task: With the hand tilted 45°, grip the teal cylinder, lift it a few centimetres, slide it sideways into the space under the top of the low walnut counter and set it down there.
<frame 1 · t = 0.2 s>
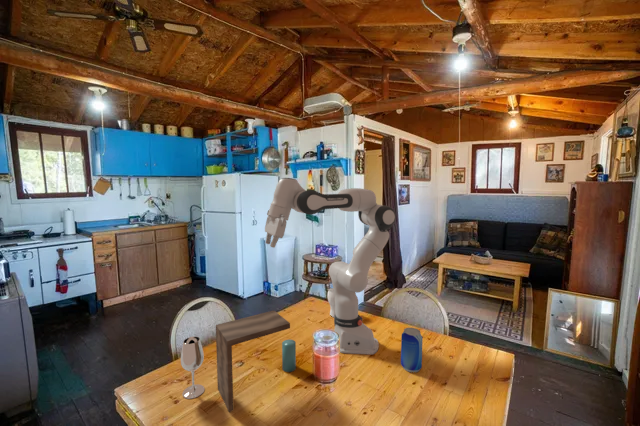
hand: (269, 245, 125), 51 cm above the table, tool tilted 20°, fingers open, 8 cm apart
cup: (336, 315, 177), on the table
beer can: (411, 368, 125), on the table
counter: (258, 385, 113), on the table
wineglass: (193, 392, 110), on the table
teal cylinder: (289, 368, 125), on the table
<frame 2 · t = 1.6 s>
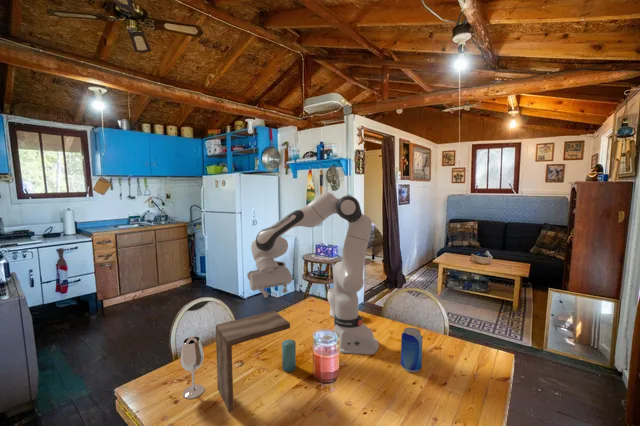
hand: (276, 294, 135), 27 cm above the table, tool tilted 45°, fingers open, 8 cm apart
nothing on the table moved.
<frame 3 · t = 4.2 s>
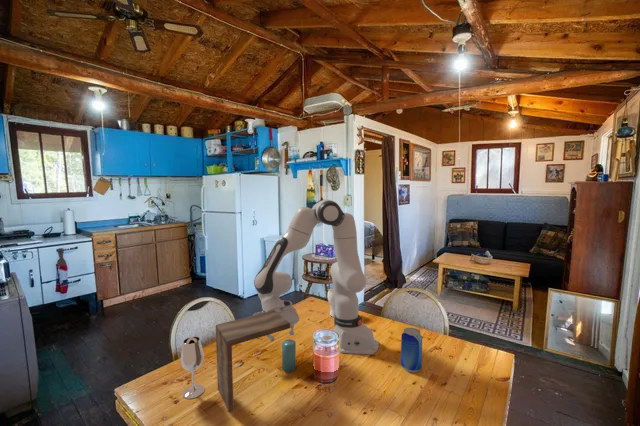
hand: (282, 337, 128), 11 cm above the table, tool tilted 45°, fingers open, 8 cm apart
nothing on the table moved.
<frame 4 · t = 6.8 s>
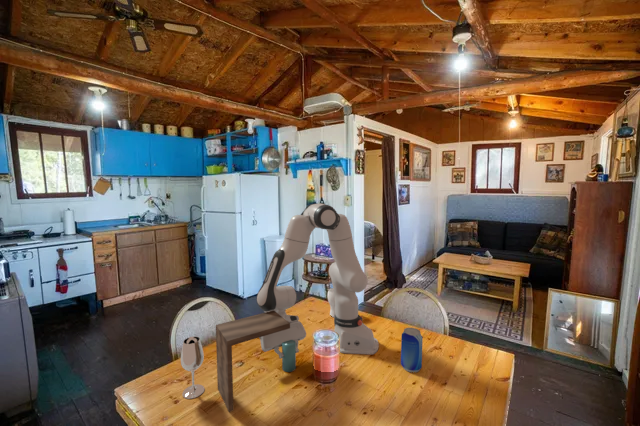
hand: (289, 355, 123), 6 cm above the table, tool tilted 45°, fingers closed on teal cylinder, 6 cm apart
teal cylinder: (289, 367, 125), on the table, touching gripper
everything else where it was.
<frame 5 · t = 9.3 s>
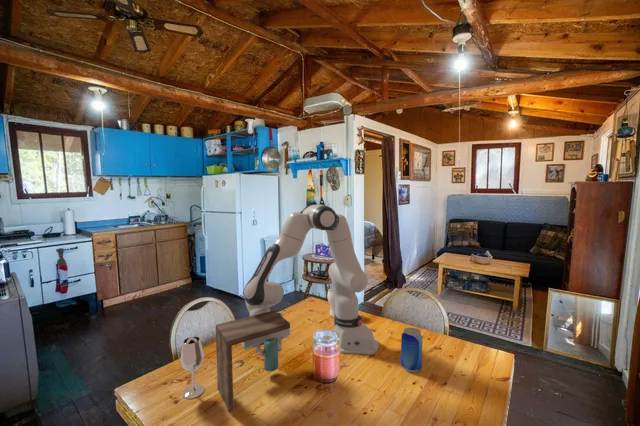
hand: (271, 353, 119), 9 cm above the table, tool tilted 45°, fingers closed on teal cylinder, 6 cm apart
teal cylinder: (271, 367, 120), point 3 cm above the table, touching gripper
everything else where it was.
when the fingers open (7 cm above the table, at t = 11.9 s): teal cylinder drops 1 cm, on the table.
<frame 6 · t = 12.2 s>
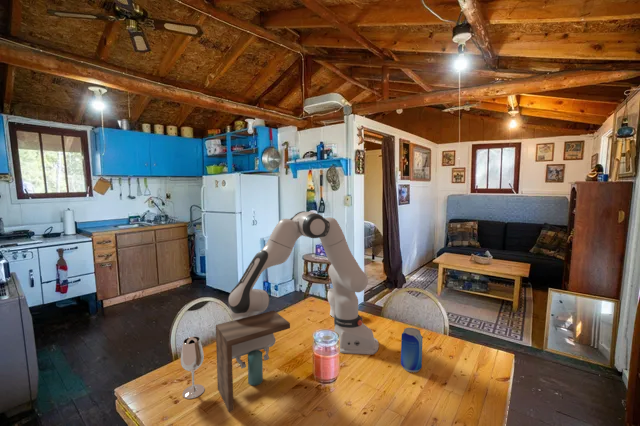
hand: (255, 363, 115), 7 cm above the table, tool tilted 45°, fingers open, 8 cm apart
teal cylinder: (255, 380, 116), on the table
everything else where it was.
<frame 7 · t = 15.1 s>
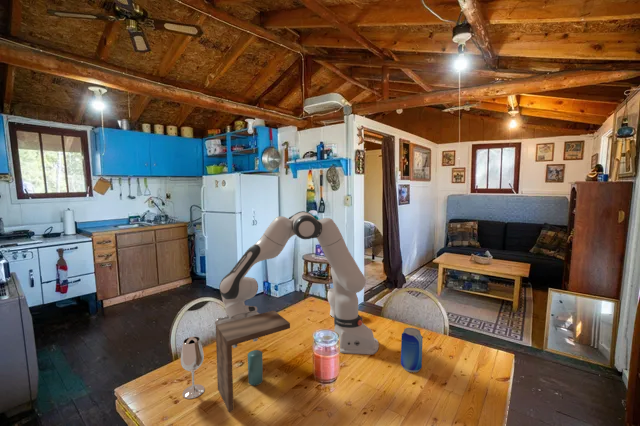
hand: (245, 344, 127), 9 cm above the table, tool tilted 45°, fingers open, 8 cm apart
nothing on the table moved.
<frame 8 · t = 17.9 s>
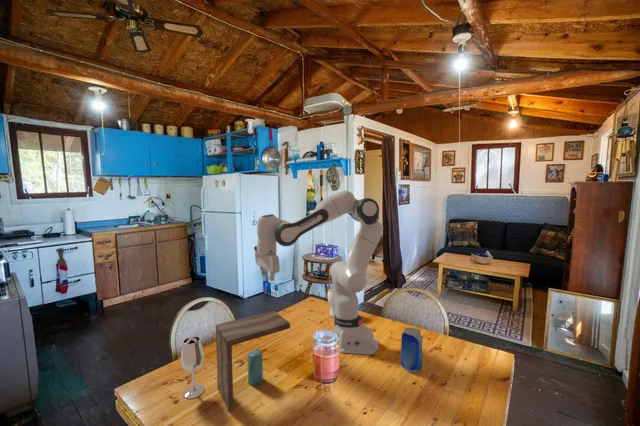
hand: (267, 277, 140), 33 cm above the table, tool pointing down, fingers open, 8 cm apart
nothing on the table moved.
at the end: teal cylinder 3.6 cm from the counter (horizontally); teal cylinder tilted 0°; the gripper is holding nothing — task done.
